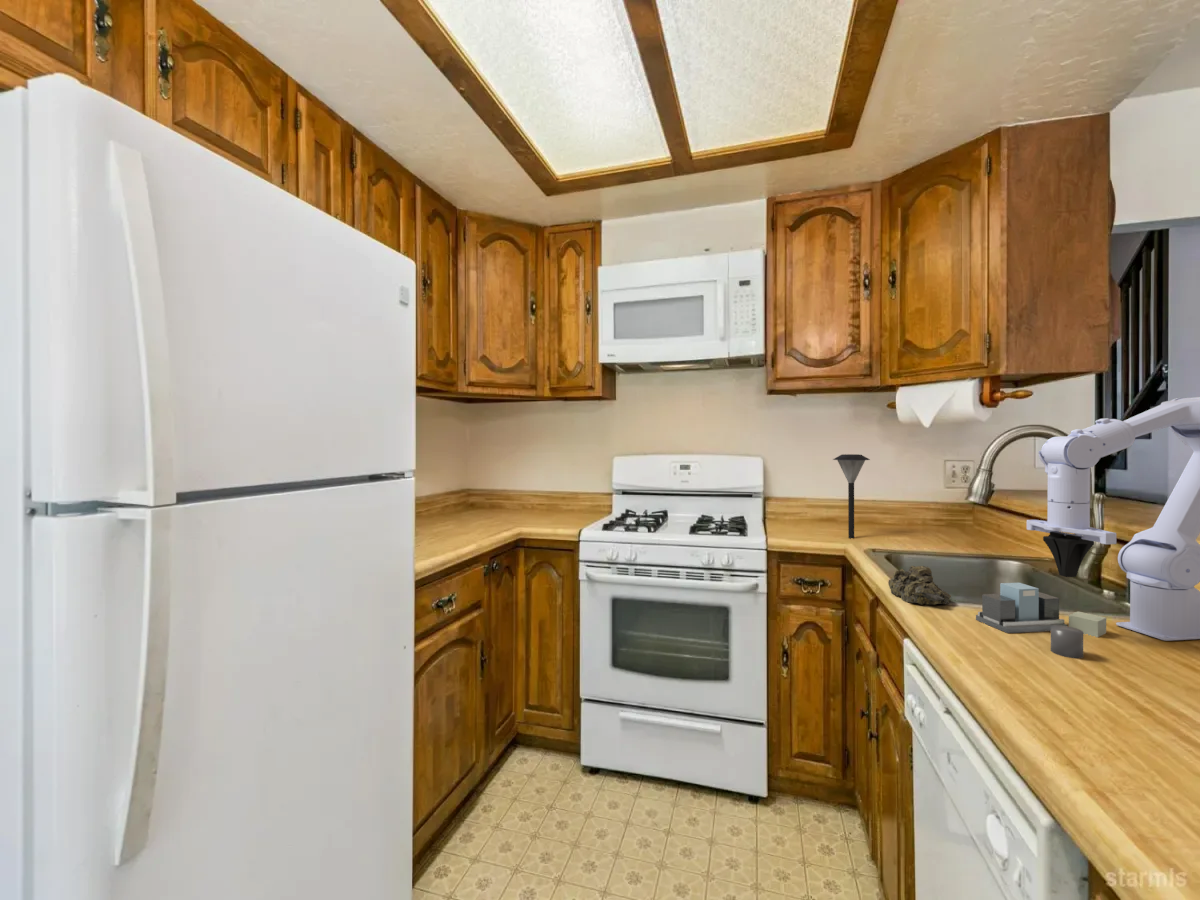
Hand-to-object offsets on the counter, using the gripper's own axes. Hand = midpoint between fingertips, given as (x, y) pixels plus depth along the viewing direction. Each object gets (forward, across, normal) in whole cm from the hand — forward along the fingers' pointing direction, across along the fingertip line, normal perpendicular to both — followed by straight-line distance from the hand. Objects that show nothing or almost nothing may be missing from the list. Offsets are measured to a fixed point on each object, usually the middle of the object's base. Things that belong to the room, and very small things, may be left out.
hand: (1067, 576), depth 93 cm
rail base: (+10, -4, -5) cm, 12 cm away
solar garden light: (+11, -89, +13) cm, 91 cm away
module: (+9, -4, -5) cm, 11 cm away
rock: (+11, -22, -12) cm, 27 cm away
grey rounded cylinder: (+10, +8, -9) cm, 16 cm away
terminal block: (+11, 0, +4) cm, 11 cm away
